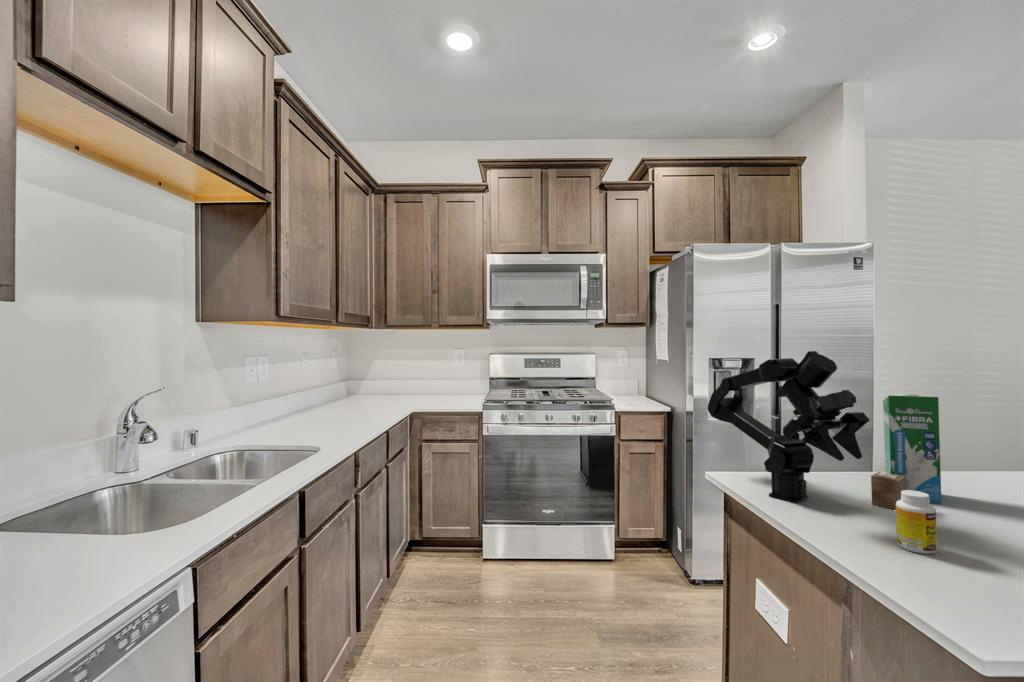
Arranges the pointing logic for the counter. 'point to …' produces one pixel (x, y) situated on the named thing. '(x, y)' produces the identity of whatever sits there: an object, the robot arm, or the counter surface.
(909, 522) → the supplement bottle
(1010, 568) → the counter surface
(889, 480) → the brown rectangular block
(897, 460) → the milk carton
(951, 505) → the counter surface
